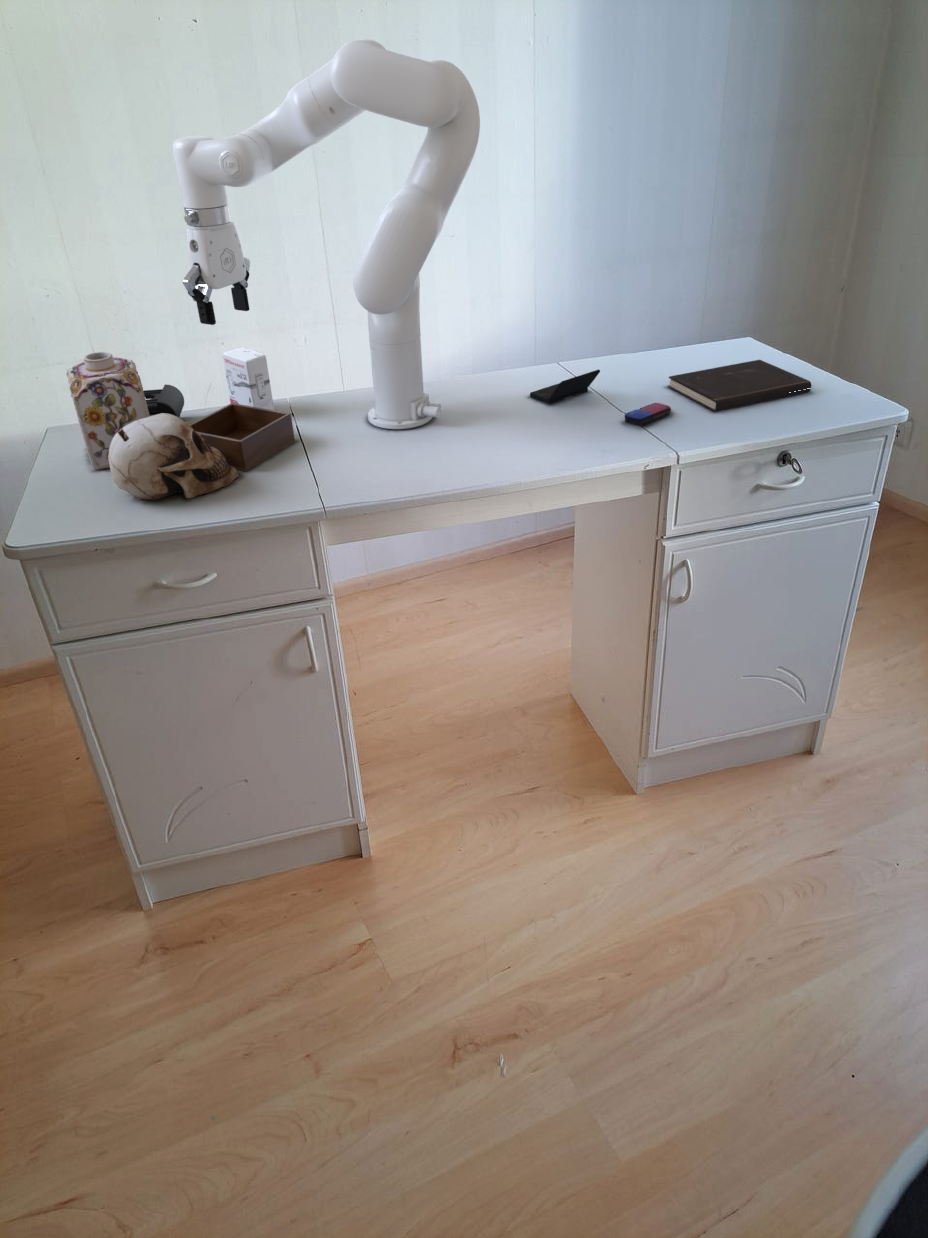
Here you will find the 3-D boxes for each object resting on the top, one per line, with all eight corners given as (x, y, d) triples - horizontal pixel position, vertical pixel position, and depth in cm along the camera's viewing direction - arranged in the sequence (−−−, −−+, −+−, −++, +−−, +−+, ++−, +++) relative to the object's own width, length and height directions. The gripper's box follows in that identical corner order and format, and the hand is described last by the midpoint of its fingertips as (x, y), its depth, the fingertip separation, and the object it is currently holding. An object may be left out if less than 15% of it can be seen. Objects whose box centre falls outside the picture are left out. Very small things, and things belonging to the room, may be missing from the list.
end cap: (181, 435, 164) (173, 400, 161) (142, 438, 164) (134, 403, 160) (188, 416, 173) (180, 382, 169) (151, 418, 172) (143, 385, 168)
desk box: (295, 441, 160) (291, 413, 157) (246, 471, 150) (240, 441, 147) (236, 430, 166) (231, 402, 163) (185, 458, 155) (179, 429, 152)
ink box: (230, 410, 174) (219, 352, 168) (250, 403, 177) (240, 346, 171) (256, 420, 169) (245, 360, 163) (276, 413, 172) (267, 354, 166)
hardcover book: (667, 387, 178) (668, 376, 177) (757, 369, 186) (759, 359, 184) (715, 412, 166) (716, 401, 165) (810, 393, 173) (812, 381, 172)
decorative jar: (88, 447, 161) (60, 350, 150) (152, 436, 164) (129, 341, 154) (92, 472, 152) (62, 370, 141) (161, 459, 155) (136, 360, 145)
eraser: (657, 408, 169) (658, 399, 168) (674, 413, 166) (675, 404, 166) (620, 422, 163) (621, 413, 162) (638, 428, 160) (638, 419, 159)
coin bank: (247, 471, 149) (225, 399, 141) (183, 525, 138) (155, 450, 129) (177, 461, 155) (152, 391, 147) (110, 511, 144) (79, 439, 135)
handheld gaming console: (559, 374, 181) (581, 344, 173) (581, 400, 181) (605, 370, 172) (524, 397, 176) (546, 367, 167) (548, 423, 175) (571, 394, 167)
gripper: (191, 227, 144) (210, 331, 153) (255, 209, 156) (270, 307, 166) (156, 224, 147) (178, 327, 156) (223, 207, 159) (239, 303, 169)
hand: (225, 316), depth 161 cm, fingers open, 9 cm apart
